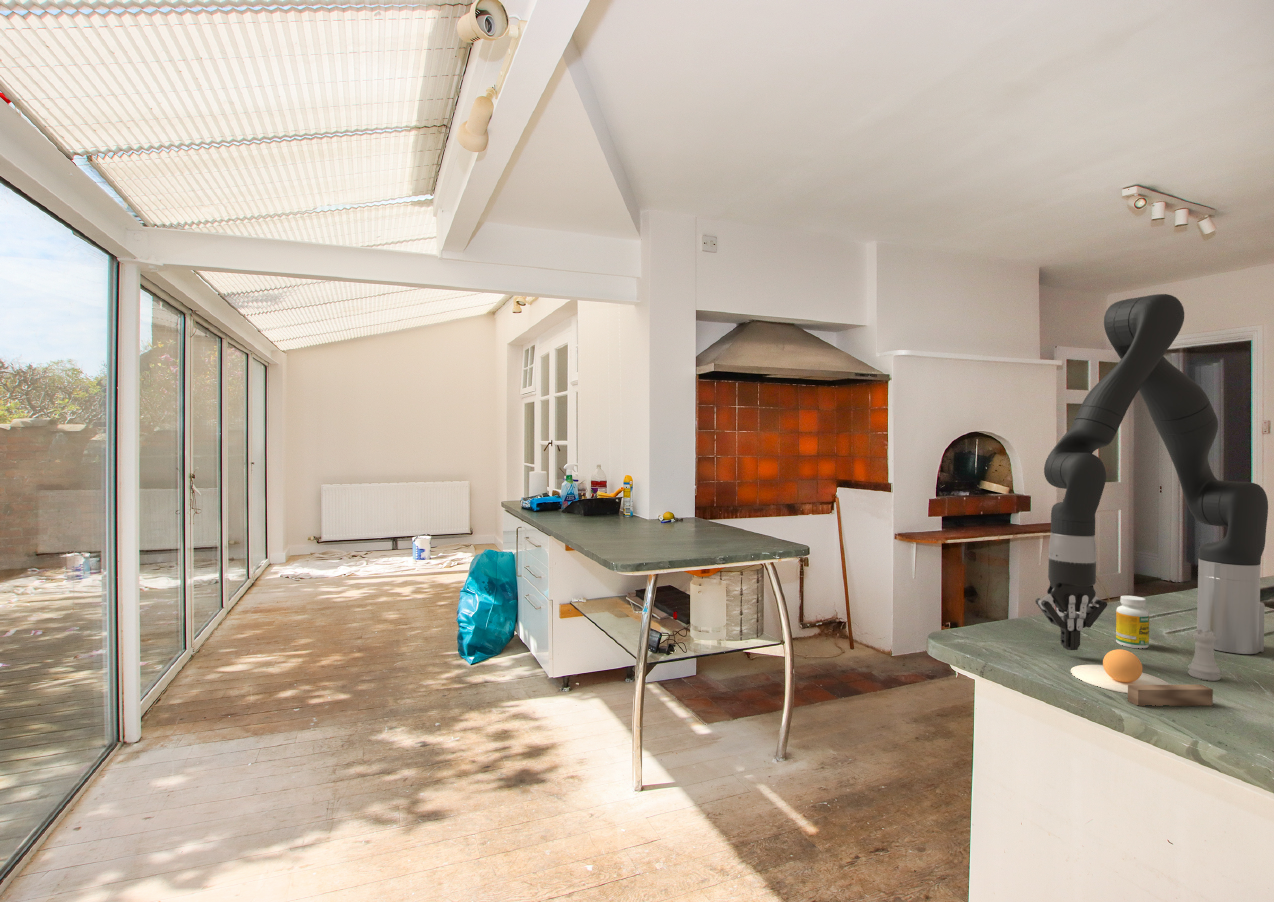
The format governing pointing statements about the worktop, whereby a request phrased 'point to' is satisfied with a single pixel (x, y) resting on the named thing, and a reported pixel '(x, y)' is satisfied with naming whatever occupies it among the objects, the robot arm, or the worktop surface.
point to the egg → (1122, 666)
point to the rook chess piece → (1204, 657)
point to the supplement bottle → (1132, 623)
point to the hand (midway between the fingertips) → (1070, 648)
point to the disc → (1102, 679)
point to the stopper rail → (1170, 695)
